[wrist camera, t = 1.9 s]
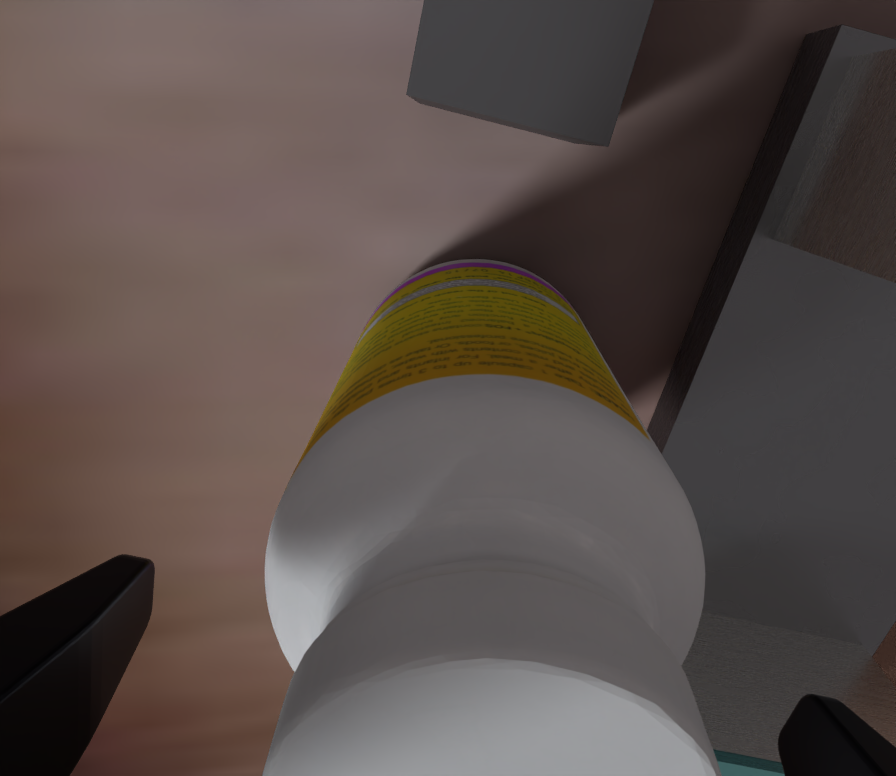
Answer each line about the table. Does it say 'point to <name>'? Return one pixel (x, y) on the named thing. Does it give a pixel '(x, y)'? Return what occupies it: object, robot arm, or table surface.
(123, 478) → the table surface
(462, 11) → the loose gray rectangular block
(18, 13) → the table surface
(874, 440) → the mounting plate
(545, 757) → the supplement bottle
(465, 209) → the table surface
